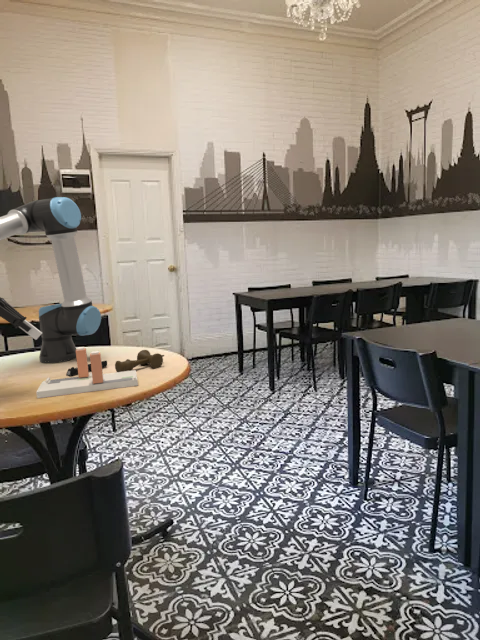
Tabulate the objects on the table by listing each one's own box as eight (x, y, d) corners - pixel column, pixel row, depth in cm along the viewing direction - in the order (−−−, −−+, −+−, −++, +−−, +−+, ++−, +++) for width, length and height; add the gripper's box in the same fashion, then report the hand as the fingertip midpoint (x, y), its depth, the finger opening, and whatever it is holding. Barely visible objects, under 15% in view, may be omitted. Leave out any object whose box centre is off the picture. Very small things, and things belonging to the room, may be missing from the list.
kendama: (111, 374, 168) (157, 361, 181) (125, 378, 161) (172, 364, 175) (109, 358, 167) (156, 346, 180) (123, 362, 160) (171, 349, 173)
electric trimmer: (109, 368, 175) (109, 360, 175) (70, 377, 165) (69, 369, 164) (105, 367, 178) (104, 359, 178) (65, 376, 167) (64, 367, 167)
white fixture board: (43, 386, 154) (42, 378, 154) (136, 375, 161) (135, 367, 161) (36, 399, 140) (35, 390, 140) (138, 386, 148) (137, 377, 147)
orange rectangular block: (93, 381, 147) (90, 351, 146) (103, 380, 148) (100, 350, 147) (93, 383, 145) (89, 353, 143) (103, 382, 145) (99, 352, 144)
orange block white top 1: (79, 375, 156) (76, 347, 154) (88, 374, 157) (85, 346, 155) (78, 377, 153) (75, 349, 152) (88, 376, 154) (85, 348, 152)
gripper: (-28, 294, 147) (35, 342, 153) (-42, 298, 134) (26, 349, 140) (-12, 277, 147) (50, 324, 153) (-24, 278, 135) (43, 330, 141)
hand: (39, 336), depth 147 cm, fingers closed
